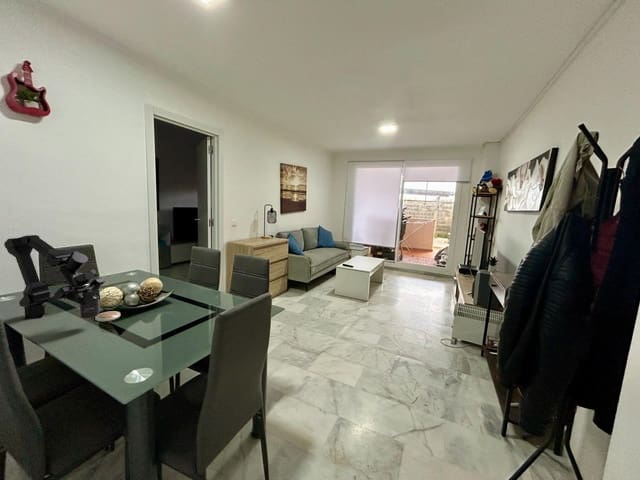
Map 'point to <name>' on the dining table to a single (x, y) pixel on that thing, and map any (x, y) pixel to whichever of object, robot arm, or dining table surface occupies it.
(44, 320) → the dining table surface
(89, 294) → the supplement bottle
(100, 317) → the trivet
